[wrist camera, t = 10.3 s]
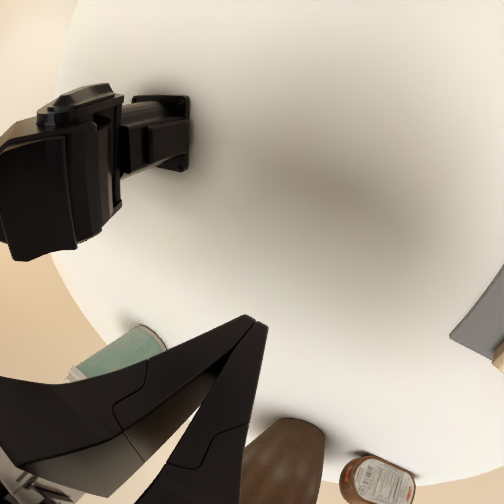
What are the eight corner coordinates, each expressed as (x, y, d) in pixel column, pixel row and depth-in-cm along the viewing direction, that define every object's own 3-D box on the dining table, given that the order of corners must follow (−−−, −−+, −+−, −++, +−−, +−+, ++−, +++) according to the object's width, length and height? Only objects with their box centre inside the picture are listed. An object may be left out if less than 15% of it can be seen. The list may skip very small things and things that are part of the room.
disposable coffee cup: (185, 353, 39) (116, 427, 28) (169, 373, 46) (113, 432, 35) (132, 302, 40) (57, 366, 29) (124, 331, 47) (65, 384, 36)
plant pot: (260, 436, 43) (213, 508, 31) (245, 389, 37) (178, 482, 24) (343, 459, 36) (303, 543, 24) (354, 417, 29) (301, 535, 17)
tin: (348, 450, 34) (328, 497, 28) (362, 446, 32) (342, 496, 26) (409, 478, 32) (396, 520, 25) (423, 474, 30) (410, 518, 23)
